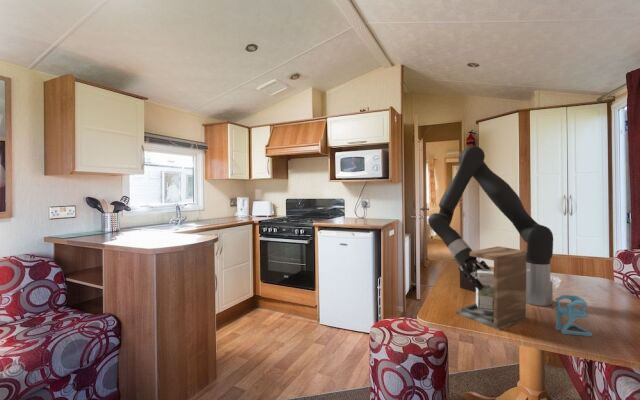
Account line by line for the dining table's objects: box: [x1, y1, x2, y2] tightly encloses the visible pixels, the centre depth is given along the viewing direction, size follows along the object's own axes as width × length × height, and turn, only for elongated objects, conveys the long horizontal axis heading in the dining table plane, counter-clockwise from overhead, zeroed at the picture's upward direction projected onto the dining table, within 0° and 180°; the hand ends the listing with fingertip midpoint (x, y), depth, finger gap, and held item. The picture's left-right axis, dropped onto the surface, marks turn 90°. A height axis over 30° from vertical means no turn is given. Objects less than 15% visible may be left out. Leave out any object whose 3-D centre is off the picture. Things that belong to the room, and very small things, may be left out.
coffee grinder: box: [459, 257, 478, 293], centre depth 151 cm, size 16×11×18 cm
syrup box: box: [475, 269, 494, 310], centre depth 120 cm, size 6×6×14 cm
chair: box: [554, 294, 593, 337], centre depth 104 cm, size 8×8×12 cm
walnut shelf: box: [455, 245, 527, 331], centre depth 118 cm, size 17×18×26 cm
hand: (488, 286), depth 119 cm, fingers closed on syrup box, 8 cm apart
